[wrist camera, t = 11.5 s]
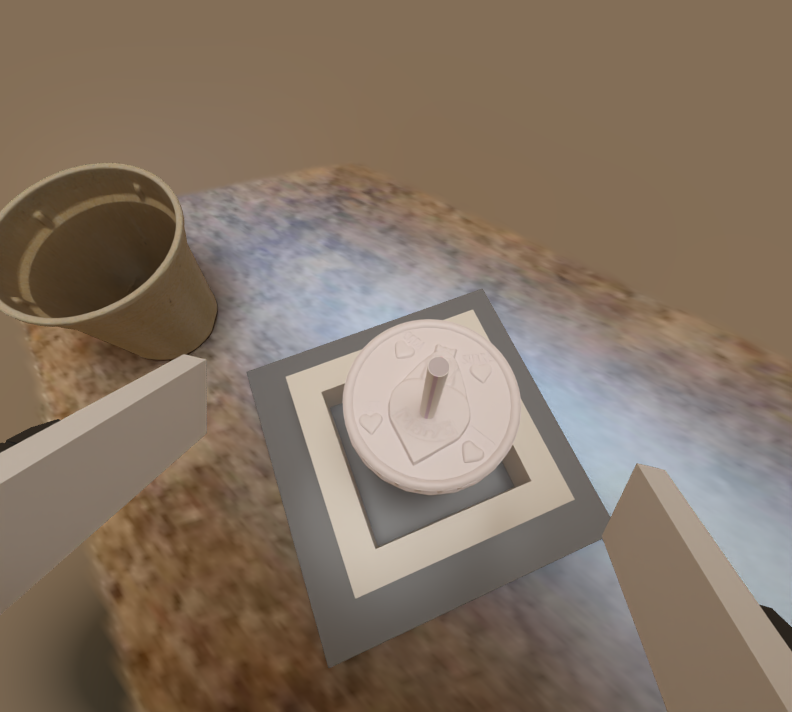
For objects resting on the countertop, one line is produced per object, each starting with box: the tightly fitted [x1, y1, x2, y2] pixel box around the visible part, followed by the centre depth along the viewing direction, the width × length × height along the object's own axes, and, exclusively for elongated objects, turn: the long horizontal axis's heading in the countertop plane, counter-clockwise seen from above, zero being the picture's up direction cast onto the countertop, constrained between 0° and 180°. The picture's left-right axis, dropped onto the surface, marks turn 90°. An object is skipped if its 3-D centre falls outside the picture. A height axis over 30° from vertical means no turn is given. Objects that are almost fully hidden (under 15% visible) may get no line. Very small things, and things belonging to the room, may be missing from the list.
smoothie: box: [343, 319, 521, 495], centre depth 17 cm, size 6×6×14 cm
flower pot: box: [0, 163, 217, 360], centre depth 24 cm, size 9×9×9 cm
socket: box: [247, 289, 610, 668], centre depth 23 cm, size 16×16×4 cm
